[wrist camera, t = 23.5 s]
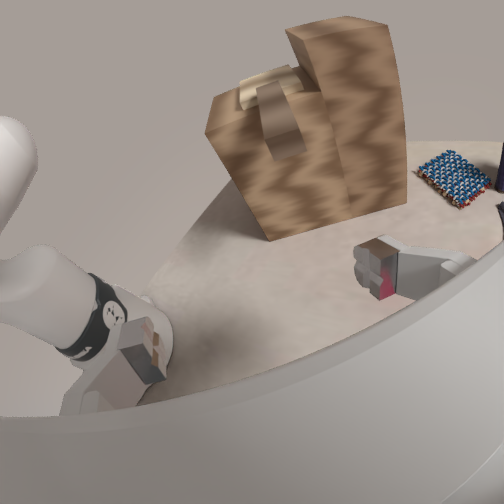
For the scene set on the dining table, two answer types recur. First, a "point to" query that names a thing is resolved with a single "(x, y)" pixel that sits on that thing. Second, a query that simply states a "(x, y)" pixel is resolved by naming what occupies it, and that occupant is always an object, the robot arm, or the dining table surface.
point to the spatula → (275, 109)
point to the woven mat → (455, 178)
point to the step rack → (323, 132)
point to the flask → (500, 175)
